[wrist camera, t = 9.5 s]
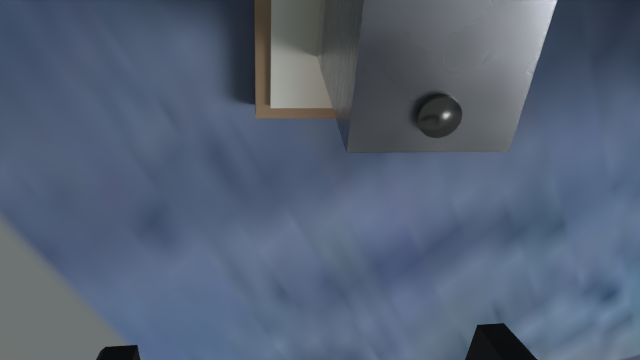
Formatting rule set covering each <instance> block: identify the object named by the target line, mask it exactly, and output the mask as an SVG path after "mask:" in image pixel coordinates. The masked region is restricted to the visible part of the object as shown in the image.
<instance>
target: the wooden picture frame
mask: <svg viewBox="0 0 640 360" xmlns="http://www.w3.org/2000/svg"><path fill="white" fill-rule="evenodd" d="M319 11H320V0H254V22H255V111H256V118H336V117H335V114H334V111H333V108H332V104H331V101H330V98H329V95H328V92H327V88H326V85H325V82H324V79H323V76H322V72H321V69H320V66H319V63H318V60H317V57H316V56H317V41H318V26H319Z"/></svg>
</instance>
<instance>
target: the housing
mask: <svg viewBox="0 0 640 360" xmlns="http://www.w3.org/2000/svg"><path fill="white" fill-rule="evenodd" d="M556 2H557V0H320V11H319V26H318V41H317V56H316V57H317V60H318V63H319V66H320V69H321V72H322V76H323V79H324V82H325V85H326V88H327V92H328V95H329V98H330V101H331V104H332V108H333V111H334V114H335V117H336V120H337V124H338V127H339V130H340V133H341V136H342V140H343V143H344V146H345V149H346V152H347V153H387V152H509V149H510V146H511V143H512V140H513V137H514V134H515V130H516V127H517V124H518V121H519V118H520V115H521V112H522V109H523V105H524V102H525V99H526V96H527V93H528V90H529V87H530V83H531V80H532V77H533V74H534V71H535V68H536V65H537V62H538V58H539V55H540V52H541V49H542V46H543V43H544V40H545V36H546V33H547V30H548V27H549V24H550V21H551V18H552V15H553V11H554V8H555V5H556Z"/></svg>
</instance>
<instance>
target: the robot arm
mask: <svg viewBox="0 0 640 360" xmlns="http://www.w3.org/2000/svg"><path fill="white" fill-rule="evenodd" d="M96 360H140V356H139V351H138V346H137V345H130V346H113V347H105V348H104V349H103V350H101V351H100V353H99V356H98V357H97V359H96ZM465 360H537V359H536V358H535V357H534V356H533V355H532V354H531V352H530V351H529V350H528V349H527V348H526V347H525V346H524V345H523V344H522V343H521V342H520V340H519V339H518V338H517V337H516V336H515V335H514V334H513V333H512V332H511V331H510V330H509V329H508V327H507V326H506V325H505V324H504V323H502V324H485V325H477V328H476V331H475V333H474V336H473V339H472V342H471V345H470V348H469V351H468V353H467V356H466V359H465Z"/></svg>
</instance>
